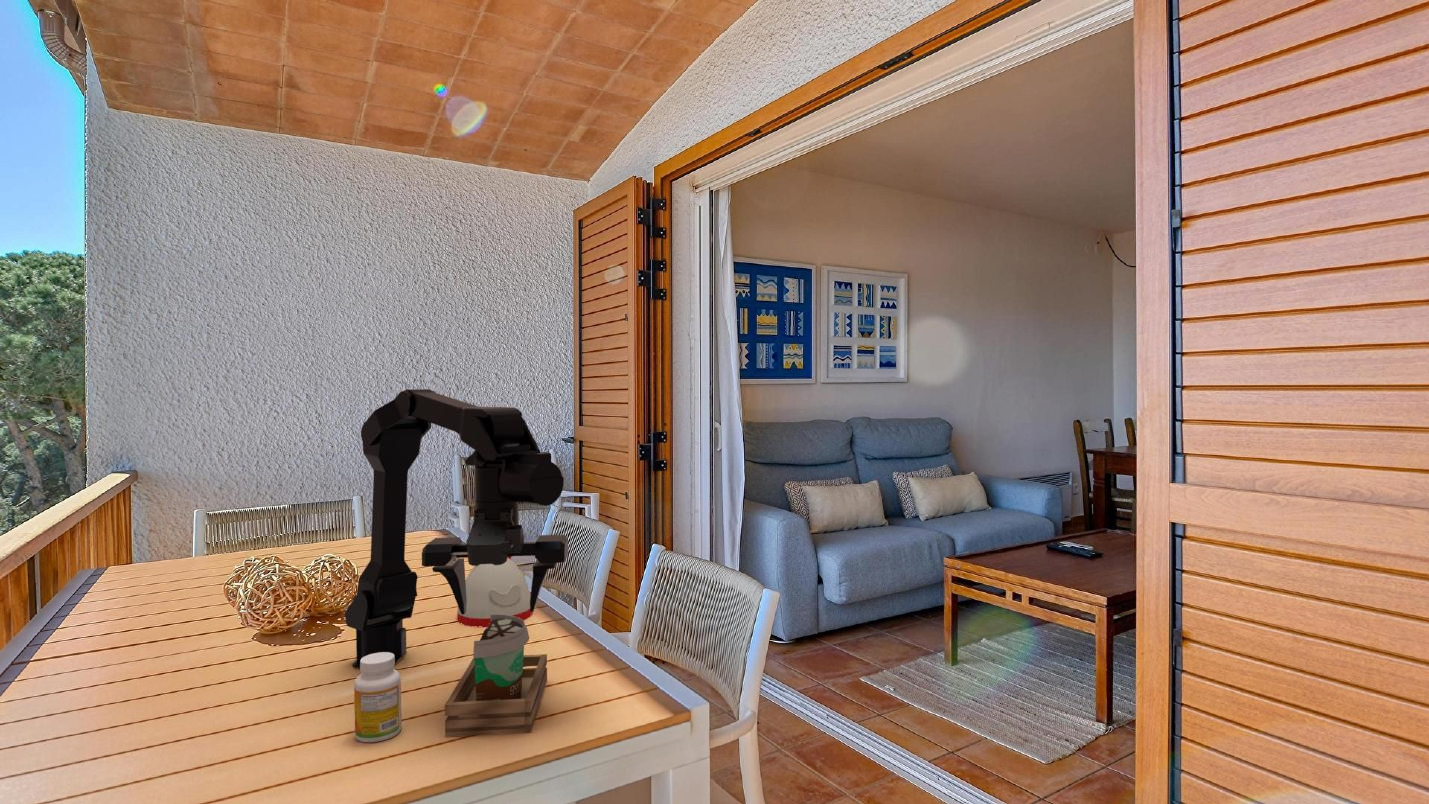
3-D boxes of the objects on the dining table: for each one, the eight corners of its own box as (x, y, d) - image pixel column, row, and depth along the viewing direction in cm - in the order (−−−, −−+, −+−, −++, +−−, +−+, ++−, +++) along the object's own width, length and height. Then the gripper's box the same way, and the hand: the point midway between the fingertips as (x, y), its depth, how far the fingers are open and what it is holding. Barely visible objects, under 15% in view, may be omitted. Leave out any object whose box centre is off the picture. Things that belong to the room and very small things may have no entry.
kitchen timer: (543, 618, 141) (542, 539, 141) (469, 632, 133) (468, 549, 133) (517, 601, 153) (517, 528, 152) (448, 613, 145) (447, 536, 145)
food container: (522, 716, 97) (521, 640, 96) (474, 719, 96) (473, 642, 96) (535, 679, 109) (534, 611, 109) (492, 681, 108) (491, 613, 108)
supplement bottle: (364, 724, 97) (363, 650, 97) (407, 722, 97) (406, 649, 97) (347, 744, 92) (346, 666, 91) (393, 742, 92) (392, 664, 92)
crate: (445, 736, 93) (444, 705, 93) (474, 684, 110) (473, 657, 110) (531, 732, 94) (530, 700, 94) (547, 680, 111) (546, 654, 111)
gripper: (408, 510, 93) (409, 634, 93) (559, 507, 95) (560, 629, 95) (432, 497, 104) (434, 608, 104) (568, 494, 106) (569, 603, 106)
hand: (498, 612), depth 102 cm, fingers open, 9 cm apart
